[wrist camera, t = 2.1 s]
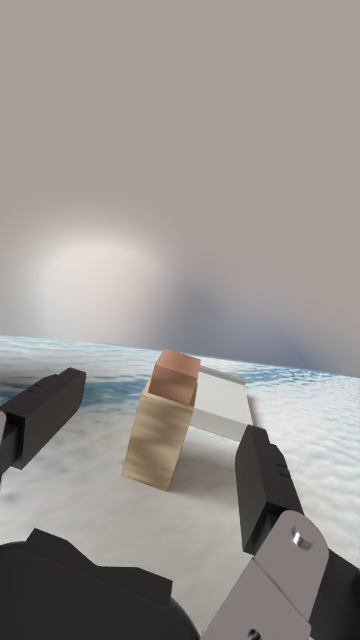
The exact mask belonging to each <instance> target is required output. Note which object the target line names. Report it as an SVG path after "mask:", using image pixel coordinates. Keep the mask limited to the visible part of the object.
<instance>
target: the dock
mask: <svg viewBox="0 0 360 640" xmlns="http://www.w3.org/2000/svg"><path fill="white" fill-rule="evenodd" d="M196 383H198V386H197V392H196V399H195V405H194V411H193V414H192V417H191V421H190V424H189V425H192V426H195V427H198V428H201V429H204V430H207V431H210V432H213V433H216V434H219V435H222V436H225V437H228V438H231V439H234V440H237V441H240V442H241V439H242V437H243V434H244V432H245V429H246V427H247V425H248V424H250V425H253V422H252V418H251V413H250V409H249V404H248V400H247V395H246V390H245V383H246V380H245V379H243V378H240V377H236V376H233V375H230V374H227V373H223V372H220V371H217V370H214V369H210V368H207V367H204V366H201V365H200V367H199V374H198V379H197V382H196Z"/></svg>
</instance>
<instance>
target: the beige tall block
mask: <svg viewBox="0 0 360 640" xmlns="http://www.w3.org/2000/svg"><path fill="white" fill-rule="evenodd" d="M200 361H201V360H200V359H197V358H194V357H191V356H187V355H184V354H181V353H178V352H174V351H171V350H168V349H164V350H163V352H162V354H161V355H160V357H159V359H158V360H157V362H156V364H155V366H154V370H153V374H152V376H151V377H150V379H149V381H148V383H147V384H146V386H145V388H144V390H143V391H142V393H141V396H140V400H139V404H138V408H137V413H136V417H135V421H134V425H133V429H132V433H131V437H130V441H129V445H128V449H127V454H126V458H125V462H124V466H123V470H122V474H121V475H122V476H125V477H128V478H131V479H133V480H136V481H139V482H142V483H144V484H147V485H150V486H153V487H156V488H158V489H161V490H164V491H168V488H169V485H170V482H171V479H172V476H173V473H174V470H175V466H176V463H177V460H178V457H179V454H180V451H181V448H182V445H183V442H184V439H185V436H186V433H187V430H188V427H189V424H190V421H191V417H192V414H193V411H194V405H195V399H196V392H197V386H198V383H196V382H197V379H198V374H199V367H200Z"/></svg>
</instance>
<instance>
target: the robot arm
mask: <svg viewBox="0 0 360 640" xmlns="http://www.w3.org/2000/svg"><path fill="white" fill-rule="evenodd" d="M85 378H86V373H85V372H83V371H80V370H77V369H74V368H68V369H66V370H65V371H63V372H62V373H61V374H59V375H57V374H54V375H51V376H48V377H45V378H43V379H41V380H40V381H38V382H37V383H35V384H34V385H32V386H31V387H29V388H28V389H27V390H26V391H25V390H24V391H23V392H21V393H20V394H18V395H17V396H15V397H14V398H12V399H11V400H9V401H8V402H6V403H5V404H3V405H2V406H0V492H1V486H2V481H3V473H4V472H5V471H6V470H7V469H8V468H9V467H10V466H12V467H15V468H18V469H20V470H22V469H23V468H24V467H25V466H26V465H27V464H28V462H29V461H30V460H31V459H32V458H33V457H34V456H35V455H36V454H37V453H38V452H39V451H40V450H41V449H42V448H43V447H44V446H45V444H46V443H47V442H48V441H49V440H50V439H51V438H52V437H53V436H54V435H55V434H56V433H57V432H58V431H59V430H60V429H61V428H62V426H63V425H64V424H65V423H66V422H67V421H68V420H69V419H70V418H71V417H72V416H73V415H74V414H75V413H76V411H77V410H78V408H79V407H80V405H81V402H82V398H83V391H84V385H85ZM287 468H288V467H287V464H286V461H285V458H284V456H283V454H282V453H281V452H280V450H279V449H278V448H277V446H276V445H274V444H271V443H270V442H269V438H268V435H267V432H266V430H265V429H262V428H259V427H256V426H253V425H250V424H248V425H247V427H246V429H245V432H244V434H243V437H242V439H241V442H240V444H239V447H238V449H237V453H236V457H235V471H236V482H237V493H238V503H239V514H240V525H241V536H242V546H243V552H246V553H249V554H252V555H254V557H253V558H252V559H251V560H250V562H249V563H248V565H247V566H246V568H245V570H244V571H243V573H242V574H241V576H240V577H239V579H238V581H237V582H236V584H235V585H234V587H233V588H232V590H231V592H230V593H229V595H228V596H227V598H226V600H225V601H224V603H223V604H222V606H221V607H220V609H219V611H218V612H217V614H216V615H215V617H214V619H213V620H212V622H211V623H210V625H209V626H208V628H207V630H206V631H205V633H204V634H203V636H202V637H200V635H199V633H198V631H197V629H196V628H195V626H194V624H193V622H192V621H191V619H190V618H189V617H188V615H187V614H186V612H185V611H184V610H183V609H182V607H181V606H180V605H179V604H178V603H177V602H176V601H175V600H174V599H173V598H171V590H172V583H173V581H172V580H169V579H167V578H164V577H161V576H159V575H156V574H154V573H151V572H148V571H146V570H143V569H141V568H138V567H101V566H97V565H95V564H94V563H92V562H91V561H90V560H89V559H88V558H87V557H86V556H84V555H83V554H82V553H81V552H80V551H79V550H78V549H76V548H75V547H74V546H73V545H72V544H71V543H70V542H68V541H67V540H65V539H62V538H60V537H57V536H54V535H52V534H49V533H47V532H44V531H41V530H39V529H36V528H34V530H33V531H32V533H31V534H30V536H29V537H28V538H27V540H26V541H20V542H11V543H7V544H2V545H0V640H308V639H309V636H310V637H312V638H313V639H314V640H360V569H358V568H357V567H355V566H354V565H352V564H351V563H349V562H348V561H346V560H345V559H343V558H342V557H340V556H339V555H337V554H336V553H334V552H333V551H332V550H330V549H329V548H328V546H327V543H326V541H325V539H324V537H323V535H322V534H321V532H320V531H319V529H318V528H317V527H316V526H315V525H314V524H313V523H312V522H311V521H310V520H309V519H308V518H307V517H305V515H304V513H303V510H302V507H301V504H300V501H299V498H298V495H297V493H296V490H295V487H294V484H293V481H292V479H291V475H290V473H289V470H288V469H287Z"/></svg>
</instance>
